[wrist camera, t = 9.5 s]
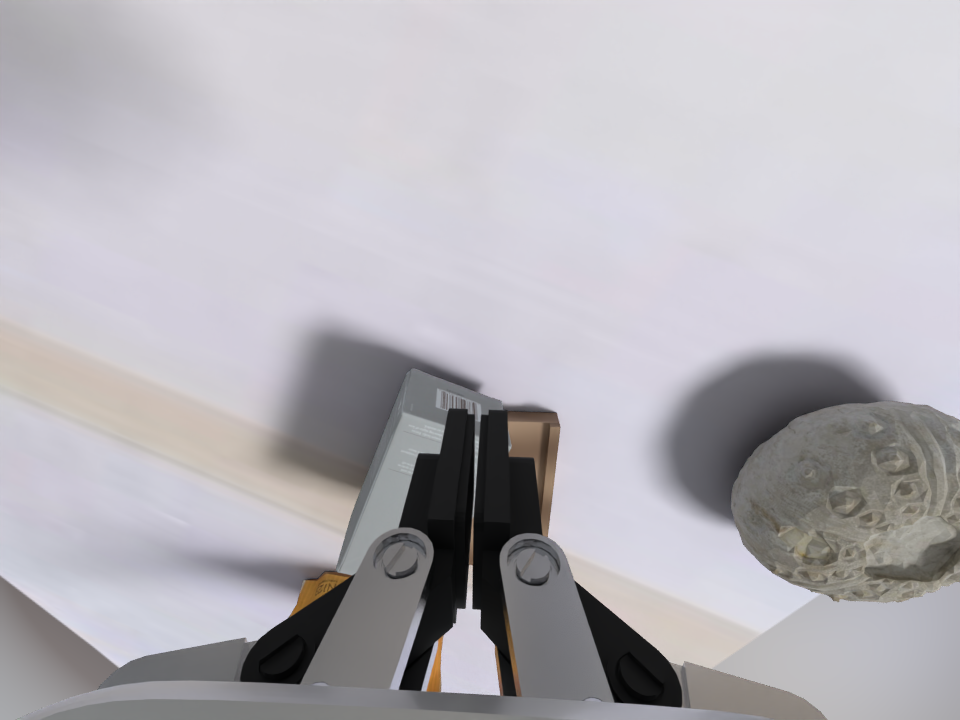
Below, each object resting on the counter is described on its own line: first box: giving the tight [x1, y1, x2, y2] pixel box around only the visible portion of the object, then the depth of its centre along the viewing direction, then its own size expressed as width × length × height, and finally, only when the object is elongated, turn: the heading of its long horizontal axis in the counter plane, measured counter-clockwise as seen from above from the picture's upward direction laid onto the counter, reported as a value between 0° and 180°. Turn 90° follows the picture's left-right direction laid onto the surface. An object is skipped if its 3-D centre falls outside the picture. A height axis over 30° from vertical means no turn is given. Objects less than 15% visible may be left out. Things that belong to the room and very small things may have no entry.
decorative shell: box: [731, 401, 960, 603], centre depth 33 cm, size 18×18×10 cm
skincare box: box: [336, 368, 511, 575], centre depth 33 cm, size 8×7×16 cm
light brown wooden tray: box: [469, 411, 560, 565], centre depth 39 cm, size 17×13×2 cm
